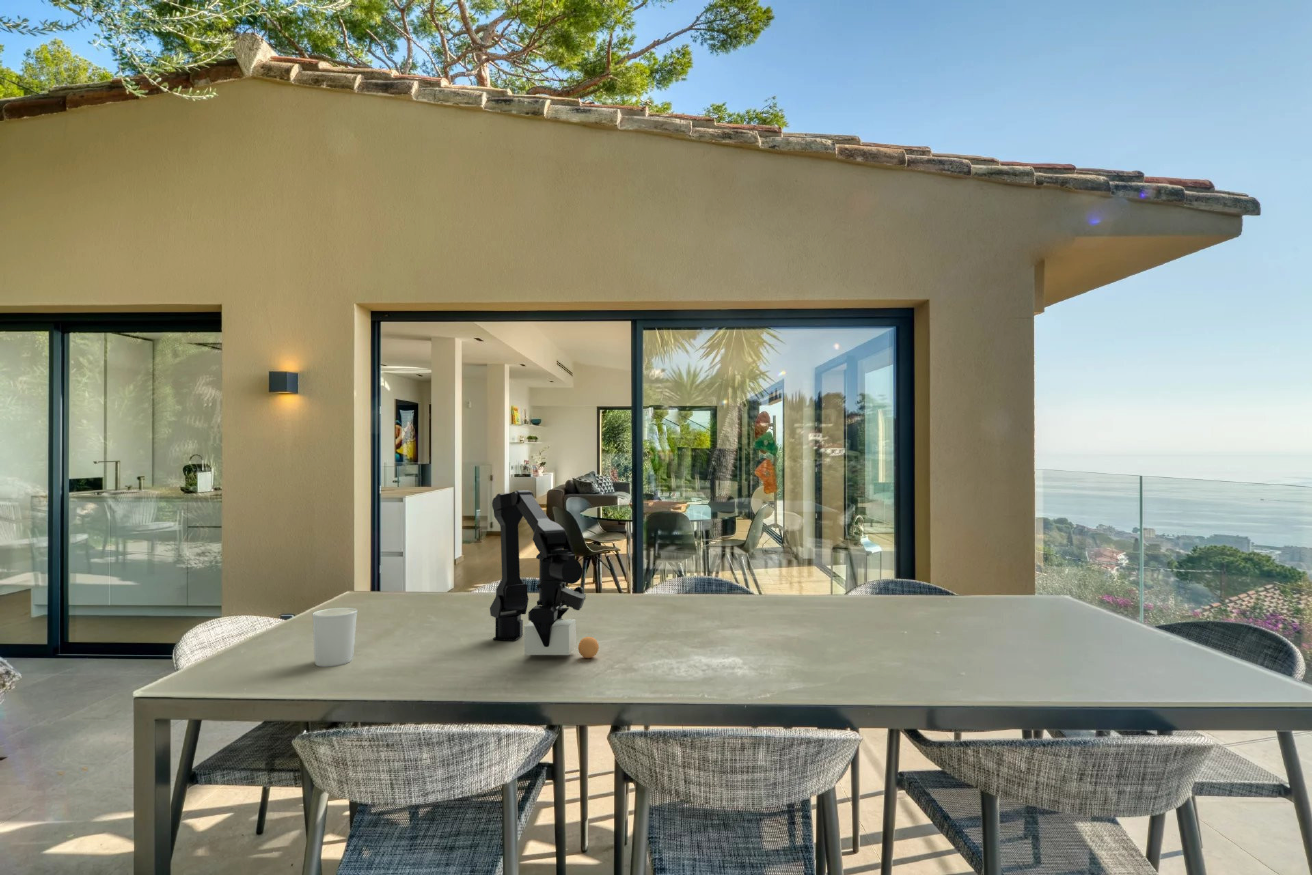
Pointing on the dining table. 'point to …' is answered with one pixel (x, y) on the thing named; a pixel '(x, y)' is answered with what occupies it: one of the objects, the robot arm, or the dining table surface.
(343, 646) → the candle holder
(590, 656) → the ball
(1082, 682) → the dining table surface
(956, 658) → the dining table surface
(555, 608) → the robot arm
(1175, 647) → the dining table surface
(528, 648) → the pale white box
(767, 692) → the dining table surface
